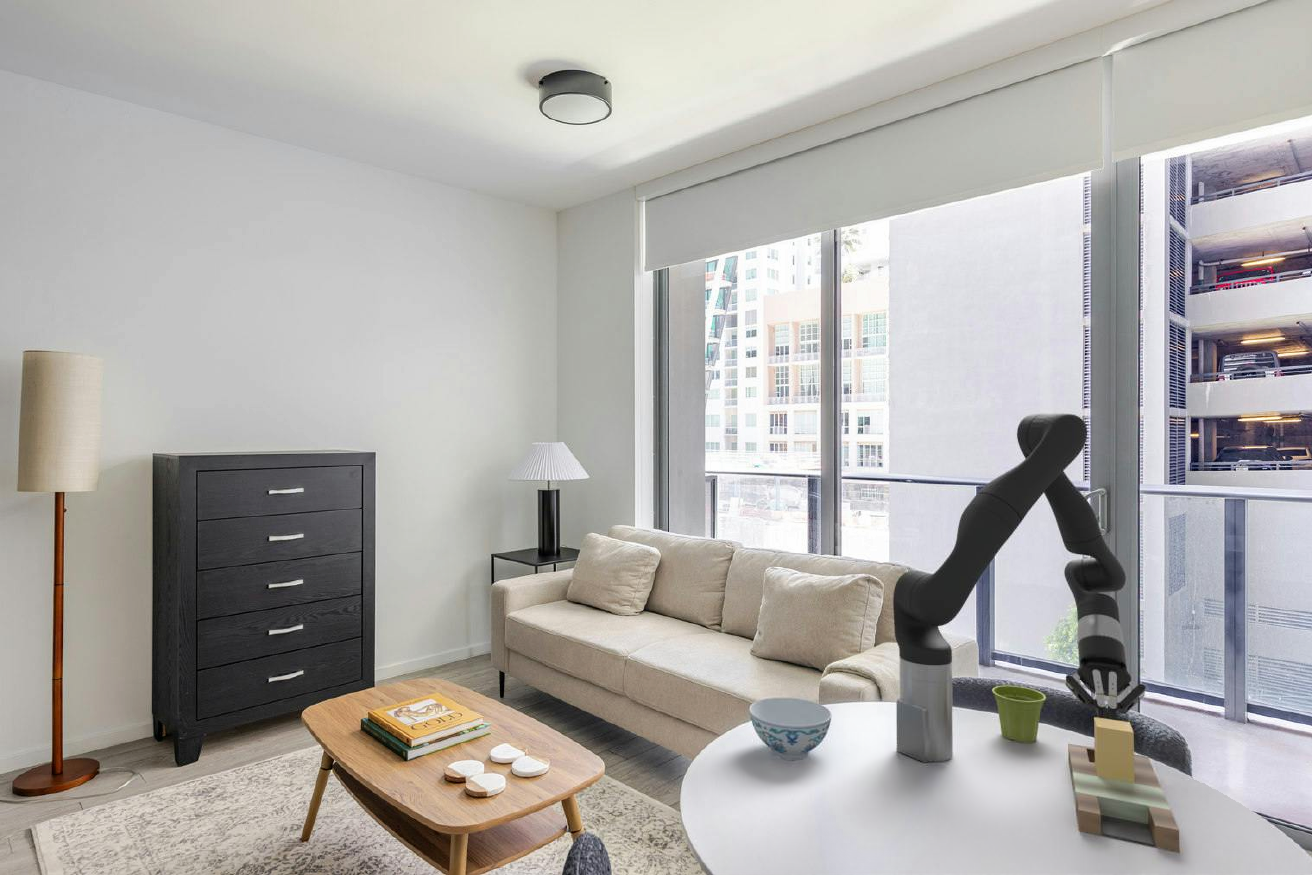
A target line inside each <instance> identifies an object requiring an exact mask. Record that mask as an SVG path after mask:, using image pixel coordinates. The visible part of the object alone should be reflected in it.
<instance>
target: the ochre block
mask: <svg viewBox="0 0 1312 875" xmlns="http://www.w3.org/2000/svg"><path fill="white" fill-rule="evenodd" d="M1093 720H1094V721H1093V723H1094V725H1093V726H1094V727H1093V728H1094V729H1093V730H1094V748H1095V767H1096V772H1097V776H1098V777H1103V778H1108V779H1114V780H1119V781H1125V782H1130V783H1134V755H1135V744H1134V742H1135V741H1134V740H1135V738H1134V735H1135V732H1134V730H1133V727H1132V726H1131V723H1130V722H1129V721H1123V720H1118V719H1117V720H1110V719H1104V718H1098V716H1097V717H1095V716H1094V717H1093Z"/></svg>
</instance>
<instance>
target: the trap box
mask: <svg viewBox="0 0 1312 875" xmlns="http://www.w3.org/2000/svg"><path fill="white" fill-rule="evenodd" d="M1067 748H1068V750H1067V751H1068V757H1067V758H1068V765H1069V772H1070V778H1071V780H1070V781H1071V786H1072V793H1073V798H1074V800H1073V801H1074V807H1075V813H1076V819H1077V820H1076V821H1077V826H1078V832H1084V833H1089V834H1093V835H1098V836H1103V837H1108V838H1113V839H1117V840H1122V841H1125V842H1126V841H1127V842H1131V843H1135V844H1140V845H1145V846H1149V847H1154V848H1158V849H1163V850H1168V851H1172V852H1176V853H1177V852H1178V853H1180V851H1181V850H1180V848H1181V846H1180V829H1179V826H1178V824H1177V821H1176V820H1175V817H1174V815H1173V812H1172V810H1171V808H1170V806H1169V803H1168V801H1167V798H1166V796H1165V794H1164V792H1163V788H1162V787H1161V784H1160V782H1159V780H1158V777H1157V775H1156V772H1155V770H1154V767H1153V766H1152V765H1153V764H1151V760H1150V758H1149V757H1148V756H1146V755H1139V754H1134V783H1130V782H1125V781H1119V780H1114V779H1108V778H1103V777H1098V776H1097V772H1096V767H1095V747H1091V746H1085V745H1079V744H1075V743H1074V744H1073V743H1068V744H1067Z"/></svg>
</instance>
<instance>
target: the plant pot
mask: <svg viewBox="0 0 1312 875" xmlns="http://www.w3.org/2000/svg"><path fill="white" fill-rule="evenodd" d="M991 692H992V694H993V695H994V698H995V701H996V705H997V710H998V711H997V712H998V717H999V718H998V719H999V724H1000V731H1001V736H1002V737H1004V738H1006V739H1007V740H1014V741H1016V742H1018V743H1022V744H1023V743H1026V744H1031V743H1034V742H1035V741H1036V740H1037V738H1038V737H1037V736H1038V731H1039V723H1040V717H1041V711H1042V707H1044V702H1045V701H1046V699H1047V696H1046V695H1045V694H1044V693H1043V692H1041V691H1039V690H1036V689H1032V688H1028V687H1024V686H1019V685H1018V686H1017V685H997V686H995V687H993V688H992V689H991Z"/></svg>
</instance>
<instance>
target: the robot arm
mask: <svg viewBox="0 0 1312 875" xmlns="http://www.w3.org/2000/svg"><path fill="white" fill-rule="evenodd" d="M1016 431H1017V432H1016V437H1017V438H1016V440H1017V442H1018V446H1019V449H1020V451H1021V452H1022V455H1023V457H1024V460H1023V461H1022V462H1020V463H1018V465H1016V466H1014V467H1013V468H1011V469H1010V470H1008V471H1006V472H1004V473H1002V474H1000V475H999V476H997V477H996V478H994V479H993V480H991V481H990V482H988V483H987V484H985V485H984V486H983V487H981V489H980V490H979V491H978V492H977V493H976V495H975V496H974V497H973V499H971V501H970V502H969V503H968V504H967V506H966V507H965V509H964V510H963V512H962V514H961V516H960V519H959V522H958V527H957V532H956V533H957V534H956V540H955V544H954V546H953V549H952V551H951V552H950V554H949V556H948V557H947V558H946V559H945V561H944V562H943V563H942V565H940V567H939V568H938V569H937V570H936V571H934V573H930V572H926V571H922V570H914V569H912V570H908V571H906V572H904V573H903V574H901V576H899V578H898V579H897V581H896V582H895V586H894V589H893V597H892V599H893V600H892V602H893V604H892V606H893V607H892V609H893V626H894V636H895V640H896V643H897V646H898V650H899V652H898V653H899V698H898V699H897V700H896V751H897V752H899V753H901V754H903V755H906V756H907V757H911V758H913V759H915V760H917V761H919V762H922V763H927V762H943V761H944V762H946V761H948V760H950V759H952V758H953V754H954V753H953V751H954V750H953V748H954V747H953V746H954V744H953V743H954V742H953V740H954V738H953V736H954V735H953V649H952V646H951V645H950V643H949V642H948V641H947V640H946V639H945V638H944V636H943V634H941V633H942V632H941V631H940V629H939V627H942V626H945V625H947V624H950V623H951V621H953V620H954V619H955V618H956V617H957V616H958V614H959V613H960V612H961V610H962V608H963V607H964V605H965V604H966V602H967V600H968V598H969V597H970V595H971V593H972V591H973V590H974V588H975V586H976V584H977V583H978V581H979V580H980V578H981V576H982V575H983V573H984V572H985V570H986V569H987V568H988V566H989V565H990V564H991V562H992V561H993V560H994V558H995V557H996V555H997V554H998V553H999V551H1000V550H1001V548H1003V546H1004V544H1006V542H1007V541H1008V540H1009V539H1010V537H1011V536H1012V535H1013V534H1014V532H1015V531H1016V530H1017V529H1018V527H1019V526H1020V524H1021V523H1022V522H1023V520H1024V519H1025V517H1026V515H1027V514H1028V513H1029V512H1030V510H1031V509H1032V508H1033V507H1034V505H1035V504H1036V503H1037V502H1038V500H1039V499H1040V498H1041V497H1042V495H1043V494H1044V495H1045V498H1046V499H1047V501H1048V504H1049V506H1050V508H1051V511H1052V513H1053V515H1054V518H1055V522H1056V524H1057V528H1058V530H1059V533H1060V536H1061V539H1062V542H1063V545H1064V548H1065V549H1066V551H1067V552H1069V553H1071V554H1073V555H1080V556H1081V555H1082V556H1089V558H1081V559H1073V560H1071V561H1069V562H1068V563H1067V564H1066V566H1065V568H1064V573H1063V574H1064V577H1065V580H1066V582H1067V585H1068V587H1069V590H1070V591H1071V593H1072V596H1073V598H1074V602H1075V606H1076V614H1077V616H1076V617H1077V629H1076V630H1077V632H1076V633H1077V634H1076V635H1077V636H1076V638H1077V641H1076V643H1077V649H1078V651H1077V652H1078V665H1079V666H1078V667H1077V668H1076V669H1077V670H1076V673H1074V674H1073V675H1071V674H1067V675H1066V676H1065V686H1066V687H1067V688H1068V690H1070V692H1071V693H1072V694H1073V695H1074V696H1075V697H1076V698H1077V699H1078V701H1080V702H1081V703H1082V705H1083V706H1084V707H1085V708H1086V709H1088V710H1089V709H1090V710H1091V709H1092V710H1094V711H1095V712H1096V714H1097V718H1104V719H1110V720H1117V721H1118V714H1122V715H1124V714H1125V715H1126V714H1127V713H1128V712H1129V711H1130V710H1131V709H1132V708H1134V706H1136V705H1137V703H1139V702H1140V701H1141V700H1142V699H1143V698H1144V696H1145V693H1146V689H1147V688H1146V685H1144V684H1142V683H1139V684H1138V683H1137V682H1135V681H1134V680H1132V675H1131V674H1130V673H1129V671H1128V668H1127V661H1126V660H1127V658H1126V652H1125V651H1126V650H1125V641H1124V635H1123V630H1122V628H1121V622H1120V613H1119V606H1118V604H1117V601H1116V600H1115V598H1113V597H1112V596H1110V595H1108V594H1106V593H1112V592H1118V591H1120V590H1122V589H1123V588H1124V586H1125V584H1126V580H1127V578H1126V572H1125V570H1124V568H1123V566H1122V565H1121V563H1120V562H1119V560H1118V558H1116V556H1115V555H1114V553H1113V552H1112V550H1111V549H1110V548H1109V546H1108V544H1107V542H1106V541H1105V540H1104V537H1103V535H1102V532H1101V528H1100V524H1099V522H1098V519H1097V516H1096V513H1095V510H1094V509H1093V507H1092V506H1091V504H1090V502H1089V501H1088V499H1087V498H1086V497H1085V496H1084V495H1083V494H1082V492H1081V491H1080V490H1079V489H1078V488H1077V486H1075V484H1074V483H1073V482H1072V480H1071V479H1070V478H1069V477H1068V475H1067V474H1066V473H1065V470H1066V469H1067V468H1068V467H1069V465H1071V464H1072V462H1074V461H1075V459H1077V457H1078V456H1079V455H1080V454H1081V452H1082V451H1083V448H1084V446H1085V445H1086V441H1087V436H1088V428H1087V424H1086V423H1085V421H1084V420H1083V419H1082V418H1081V416H1079V415H1076V414H1072V413H1064V412H1045V413H1044V412H1040V413H1031V414H1029V415H1026V416H1024V417H1023V418H1022V419H1021V421H1020V422H1019V424H1018V426H1017V429H1016ZM1082 684H1083V685H1084V686H1085V687H1086V688H1087V689H1088V690H1089V692H1091V693H1092V694H1093V696H1092V695H1091V694H1090V693H1089V692H1088V691H1087V690H1086V689H1085V688H1084V686H1082ZM1127 688H1128V694H1127V695H1125V697H1124V698H1123V699H1122V700H1120V701H1119V702H1118V701H1117V700H1118V699H1117V698H1118V697H1119V696H1120V695H1121V694H1123V692H1124V691H1125V690H1126V689H1127ZM1105 696H1106V697H1107V708H1106V701H1105Z"/></svg>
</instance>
